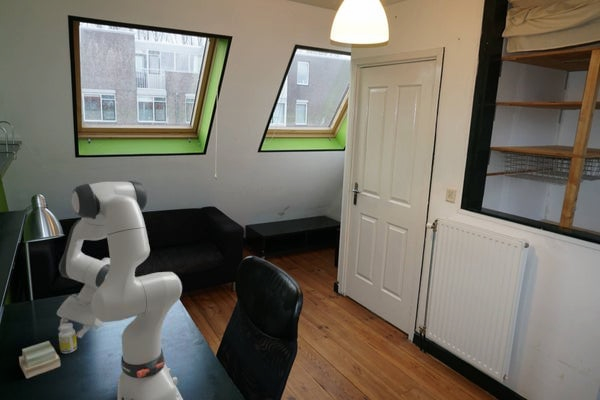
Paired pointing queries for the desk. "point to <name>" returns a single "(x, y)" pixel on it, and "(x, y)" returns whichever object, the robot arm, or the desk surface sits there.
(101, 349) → the desk surface
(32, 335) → the desk surface
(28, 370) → the two-tone square platform
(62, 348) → the supplement bottle
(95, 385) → the desk surface
